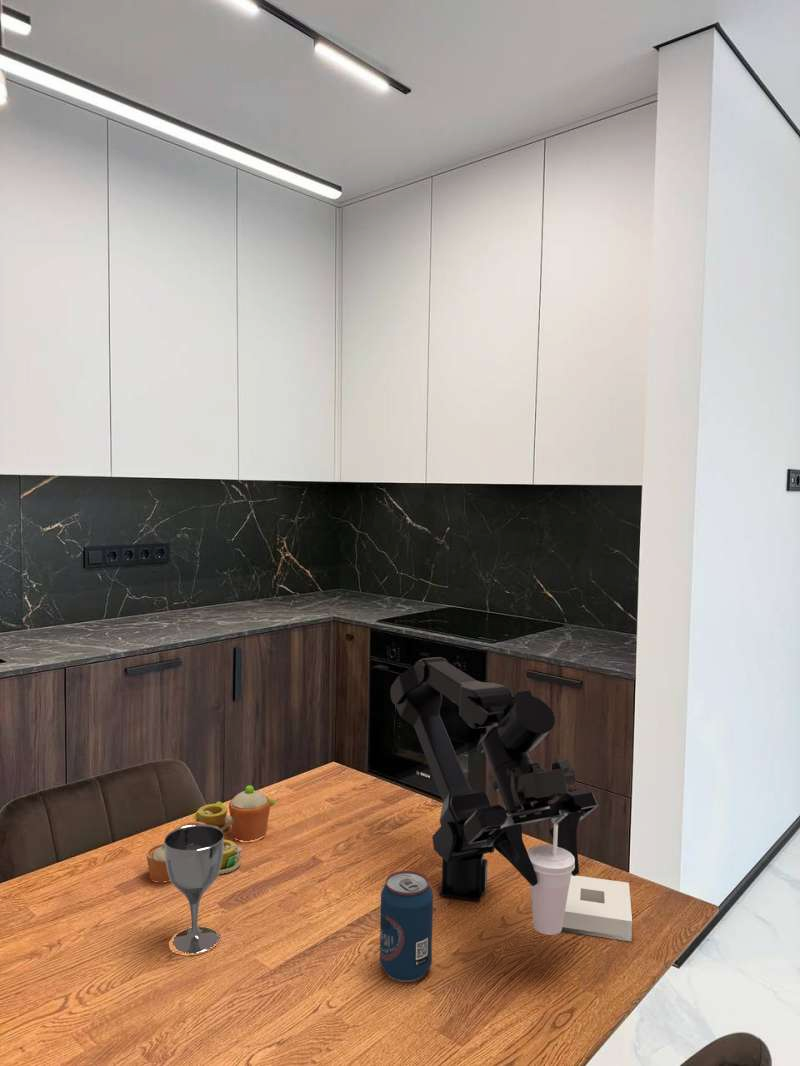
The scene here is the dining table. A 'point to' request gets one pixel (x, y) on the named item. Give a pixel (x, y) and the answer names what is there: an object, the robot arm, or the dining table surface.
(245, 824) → the toy tea set
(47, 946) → the dining table surface
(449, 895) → the robot arm
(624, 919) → the flat gift box
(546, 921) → the smoothie
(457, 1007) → the dining table surface
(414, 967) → the soda can
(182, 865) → the wine glass
